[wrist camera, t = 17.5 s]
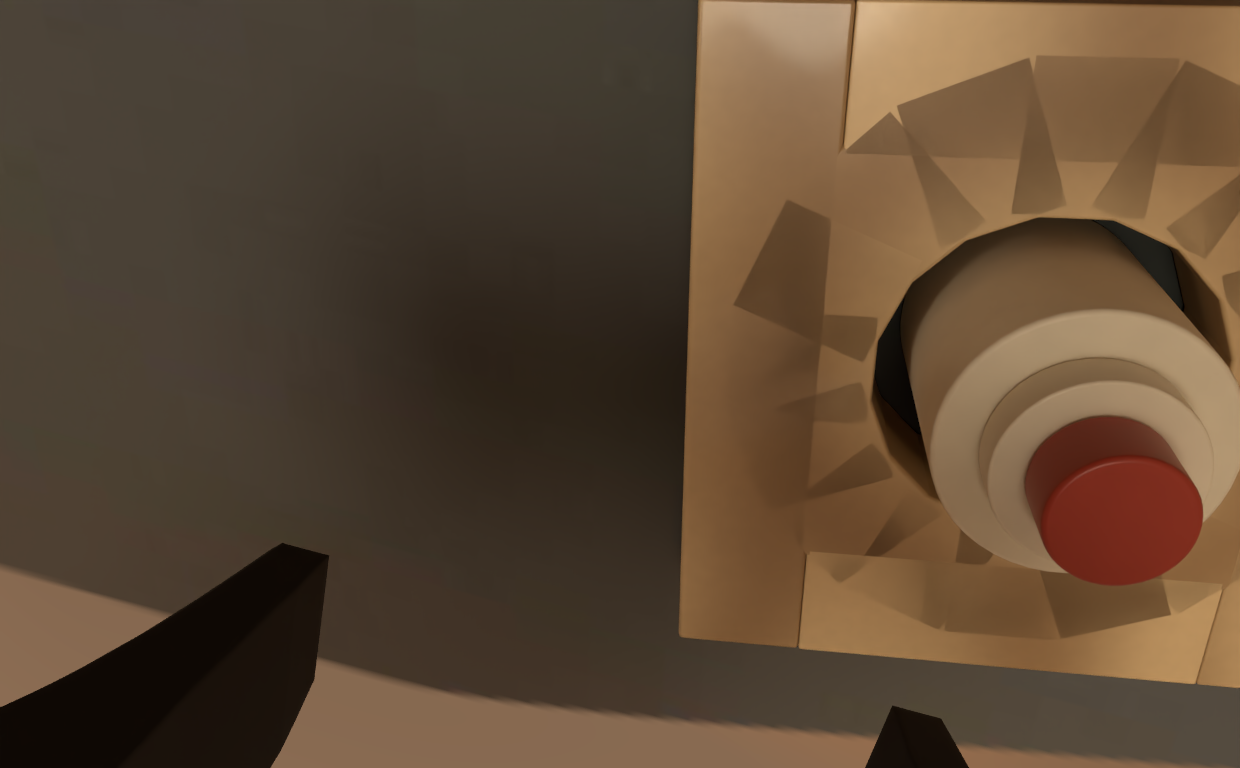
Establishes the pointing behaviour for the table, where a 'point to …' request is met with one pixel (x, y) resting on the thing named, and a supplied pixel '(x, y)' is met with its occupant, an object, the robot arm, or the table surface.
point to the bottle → (1068, 403)
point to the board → (879, 279)
